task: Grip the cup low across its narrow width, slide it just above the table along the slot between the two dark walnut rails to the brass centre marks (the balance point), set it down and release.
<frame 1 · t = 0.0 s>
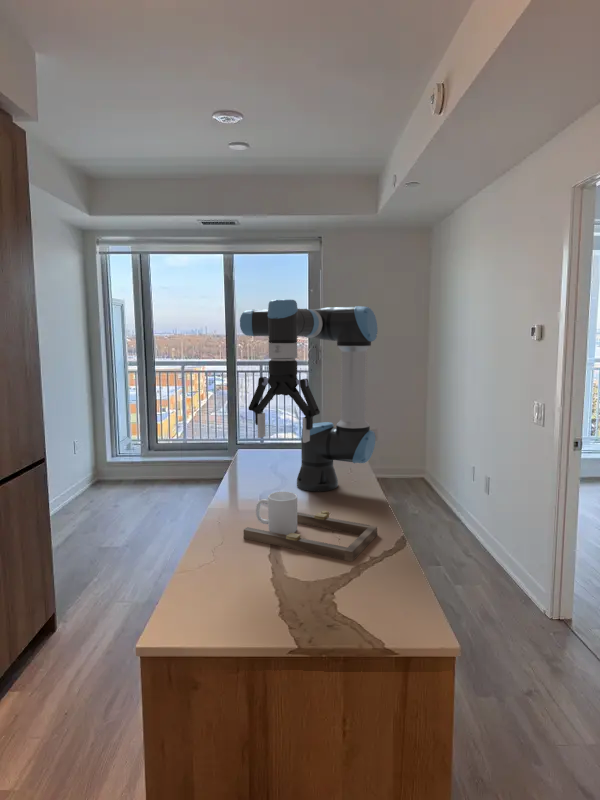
hand: (283, 439, 140), 28 cm above the table, fingers open, 13 cm apart
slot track: (307, 535, 146), on the table
cup: (276, 530, 150), on the table
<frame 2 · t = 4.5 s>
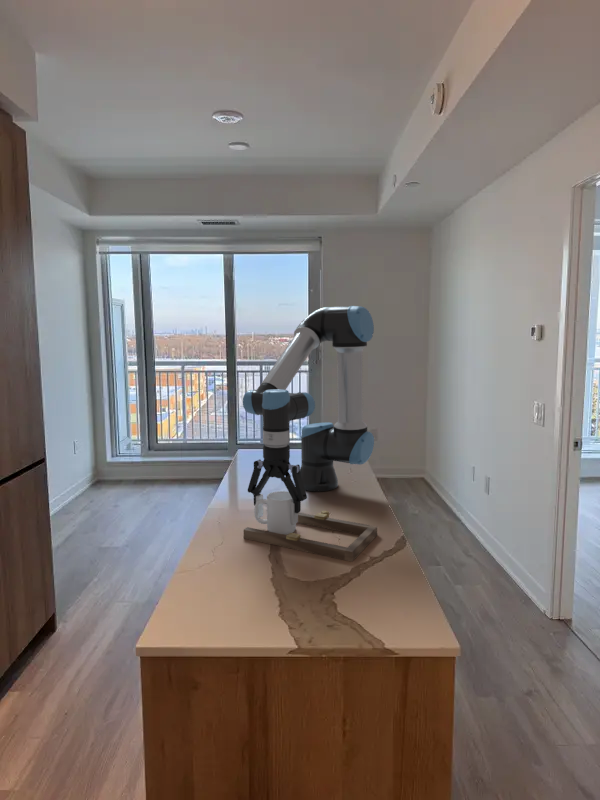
hand: (276, 520, 150), 3 cm above the table, fingers open, 11 cm apart
cup: (275, 530, 150), on the table, touching gripper
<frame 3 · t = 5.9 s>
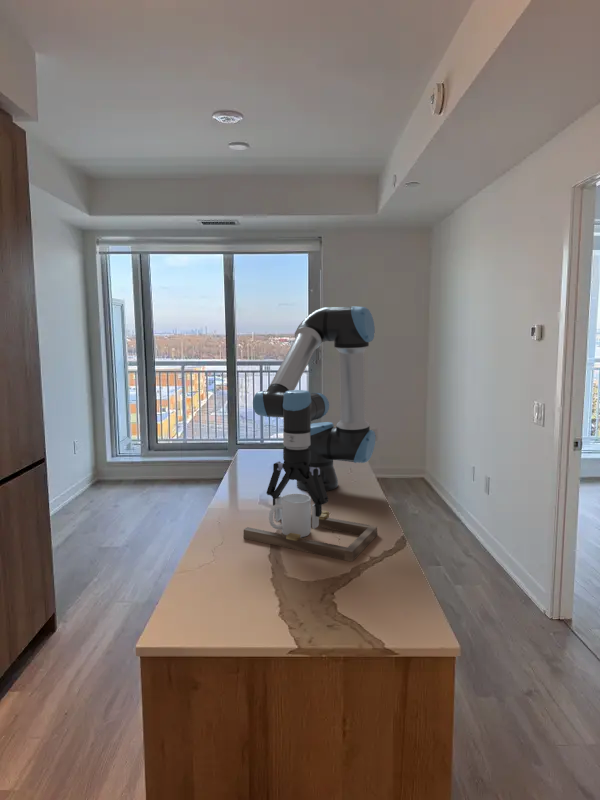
hand: (296, 523, 147), 3 cm above the table, fingers open, 11 cm apart
cup: (289, 534, 148), on the table, touching gripper
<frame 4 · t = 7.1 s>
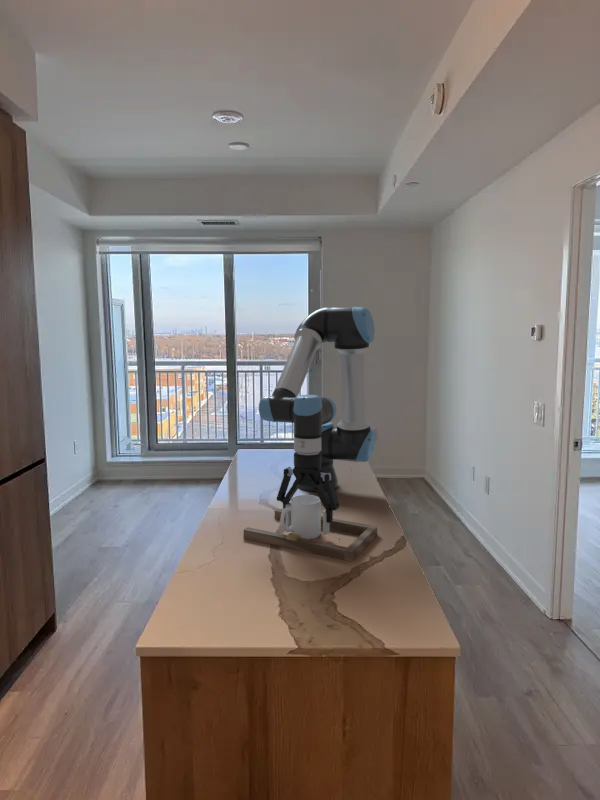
hand: (307, 529, 145), 2 cm above the table, fingers open, 11 cm apart
cup: (300, 536, 146), on the table, touching gripper
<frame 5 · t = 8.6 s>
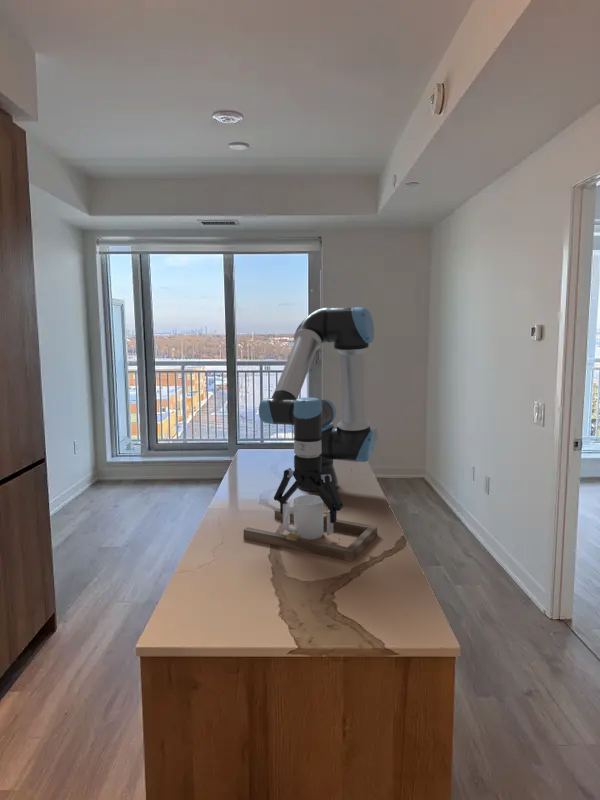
hand: (307, 529, 145), 2 cm above the table, fingers open, 13 cm apart
cup: (303, 536, 146), on the table
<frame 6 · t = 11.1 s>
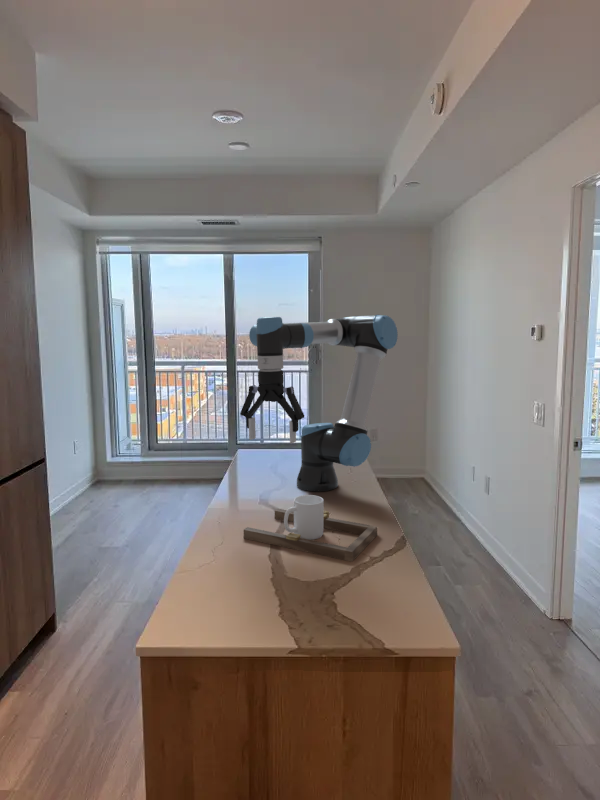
hand: (272, 440, 157), 24 cm above the table, fingers open, 13 cm apart
nothing on the table moved.
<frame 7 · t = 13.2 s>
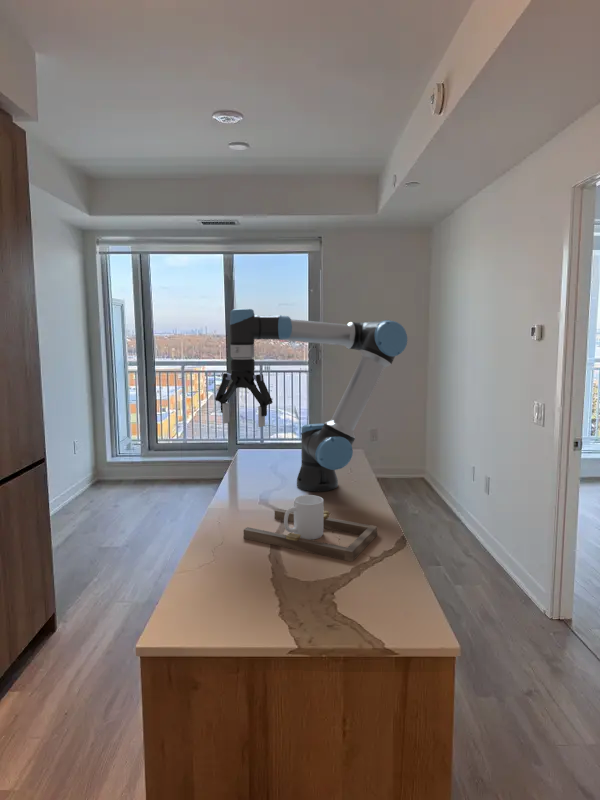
hand: (243, 424, 168), 27 cm above the table, fingers open, 13 cm apart
nothing on the table moved.
at the end: cup inside the target area (1.4 cm from its centre), on the table; cup tilted 0°; the gripper is holding nothing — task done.
